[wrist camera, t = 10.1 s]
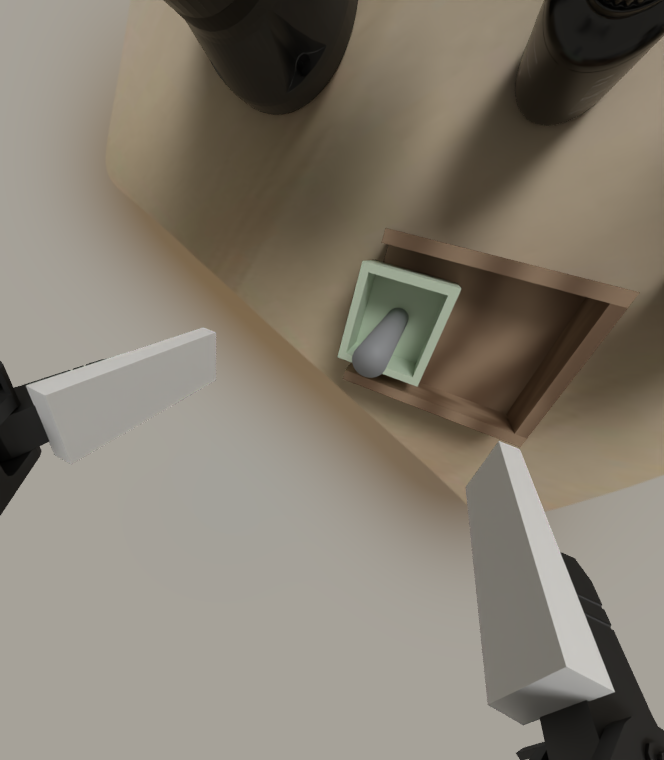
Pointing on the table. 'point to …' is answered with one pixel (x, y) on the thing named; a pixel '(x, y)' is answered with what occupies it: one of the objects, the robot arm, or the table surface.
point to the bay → (500, 337)
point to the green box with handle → (395, 321)
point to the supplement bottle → (582, 54)
